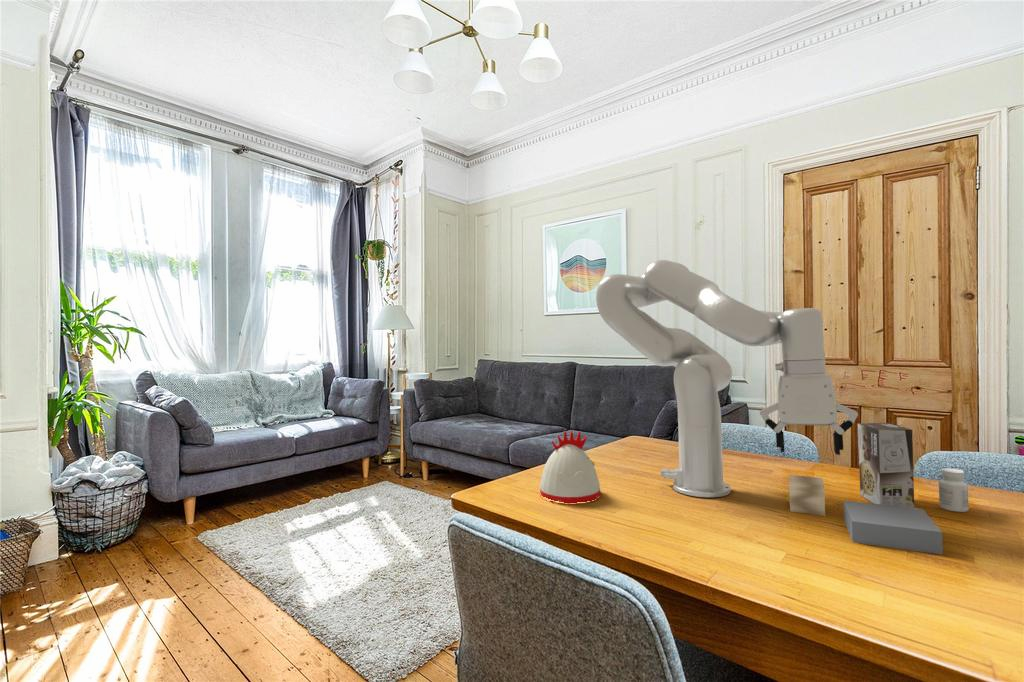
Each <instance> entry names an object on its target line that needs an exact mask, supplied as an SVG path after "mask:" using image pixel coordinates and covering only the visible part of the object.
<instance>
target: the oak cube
mask: <svg viewBox="0 0 1024 682" xmlns="http://www.w3.org/2000/svg"><path fill="white" fill-rule="evenodd" d="M825 490H826V489H825V483H824V480H823V477H819V476H809V475H808V476H807V475H806V476H805V475H797V474H796V475H794V474H788V491H789V494H788V495H789V496H788V497H789V498H788V499H789V510H790V512H795V513H802V514H811V515H818V516H826V496H825Z"/></svg>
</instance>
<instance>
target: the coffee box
mask: <svg viewBox="0 0 1024 682" xmlns="http://www.w3.org/2000/svg"><path fill="white" fill-rule="evenodd" d="M913 439H914V438H913V429H911V428H907V427H903V426H901V425H897V424H893V423H890V422H867V423H865V422H864V423H863V422H862V423H861V422H860V423H857V440H858V441H857V444H858V446H857V447H858V466H859V467H858V468H859V494H860V496H862V497H863V498H864V499H866V500H868V501H870V503H872V504H881V505H891V506H900V507H910V508H915V486H914V481H915V478H914V449H913V447H914V444H913V441H914V440H913Z"/></svg>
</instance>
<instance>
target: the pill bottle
mask: <svg viewBox="0 0 1024 682" xmlns="http://www.w3.org/2000/svg"><path fill="white" fill-rule="evenodd" d="M941 477H942V478H941V479H940V480H939V481H938V495H939V496H938V501H939V507H940V508H941V509H943V510H947V511H950V512H956V513H957V512H958V513H966V512H967V513H968V512H969V508H970V507H969V506H970V505H969V487H968V483H967V482H965V481H964V480H965V478H966V477H965V471H964V470H962V469H957V468H949V467H948V468H941Z"/></svg>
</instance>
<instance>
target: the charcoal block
mask: <svg viewBox="0 0 1024 682" xmlns="http://www.w3.org/2000/svg"><path fill="white" fill-rule="evenodd" d="M843 520H844V522H845V523H844V524H845V526H846V528H847V532H848V534H849V536H850V539H851V541H852V543H857V544H863V545H871V546H877V547H878V546H879V547H887V548H893V549H901V550H905V551H906V550H907V551H915V552H923V553H929V554H937V555H943V552H944V551H943V550H944V549H943V531H942V530H941V529H940V528H939V526H938V525H937V524H936V523H935V522H934V520H933V519H932V518H931V517H930V516H929V515H928V514H927V513H926V511H925V510H924V509H923V508H917V507H914V508H910V507H900V506H891V505H881V504H874V503H873V502H861V501H860V502H859V501H851V500H843Z"/></svg>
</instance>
